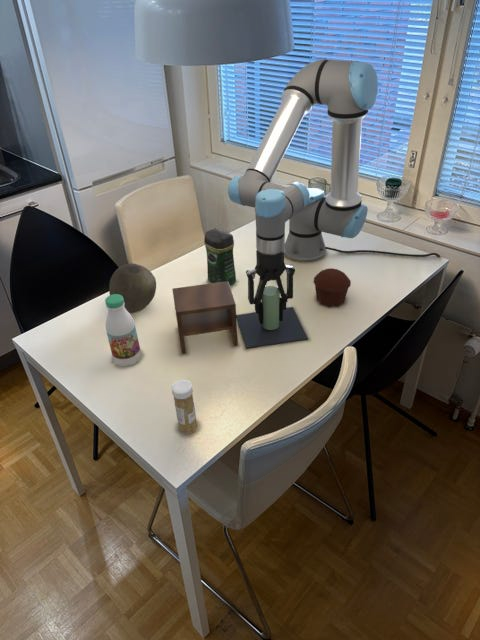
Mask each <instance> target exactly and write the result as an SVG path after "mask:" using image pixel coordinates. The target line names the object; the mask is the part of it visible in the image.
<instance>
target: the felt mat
mask: <svg viewBox="0 0 480 640" xmlns="http://www.w3.org/2000/svg"><path fill="white" fill-rule="evenodd" d="M236 320H237V325H238V328H239V330H240V334H241V337H242V340H243V344H244V346H245V349H246V350H251V349H257V348H263V347H269V346H275V345H282V344H288V343H295V342H301V341H307V340H309V337H308V335H307V334H306V331H305V329H304V327H303V325H302V323H301V321H300V319H299V317H298V314H297V313H296V311H295V308H294V307H293V306H291V307H289V306H288V307H286V310H283V321H279V327H278V328H277V329H275V330H266V329H264V328H263V327H262V324H260V322H259V319H258V314H256V312H255V311H254V312H249V313H247V312H246V313H240V314H236Z"/></svg>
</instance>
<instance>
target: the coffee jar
mask: <svg viewBox="0 0 480 640" xmlns="http://www.w3.org/2000/svg"><path fill="white" fill-rule="evenodd" d="M203 243H204V247H205V251H206V267H207V269H206V270H207V271H206V273H207V281H208V283H209V284H210V283H217V282H225V281H228V282H229V285H230V287H232V286H233V285H234V284H236V282H237V276H236V267H235V266H236V265H235V258H234V246H235V240H234V236H233V234H231V233H230V232H228V231H225V230H223V229H220V228H216V227H214V228H211V229H210V230H206V232H205V234H204V239H203Z"/></svg>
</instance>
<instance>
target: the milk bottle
mask: <svg viewBox="0 0 480 640" xmlns="http://www.w3.org/2000/svg"><path fill="white" fill-rule="evenodd" d="M104 302H105V306H106V309H107V315H106V319H105V331H106V337H107V340H108V344H109V349H110V352H111V356H112V360H113V363H115V364H116V365H118V366H121V367H129V366H132V365H135V364H137V363H138V362H139V361H140V359H141V356H142V352H141V351H142V350H141V347H140V346H141V345H140V342H139V337H138V331H137V327H136V324H135V320H134V318H133V316H132V315H131V313H128V311H127V310H126V309H125V307H124V299H123V297H122V296H121V295H119V294H113V295H110V294H109V295H108V296H107V297H106V298H105V299H104Z"/></svg>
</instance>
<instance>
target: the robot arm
mask: <svg viewBox="0 0 480 640" xmlns="http://www.w3.org/2000/svg"><path fill="white" fill-rule="evenodd" d="M378 90H379V81H378V75H377V71H376V69H375V68H374V66H373V65H372V64H371V63H368V62H363V61H358V60H332V59H324V58H323V59H317V60H314V61H312V62H310V63H307V64H306V65H305V66H303V67H302V68H301V69H300V70H299V71H297V72H296V73H295V74H294V75H293V77H292V78H291V79H290V80H289V81H288V83H287V84H286V86H285V87H284V89H283V91H282V93H281V96H280V100H281V103H280V104H279V107H278V108H277V111H276V113H275V114H274V116H273V118H272V120H271V122H270V124H269V126H268V128H267V130H266V132H265V134H264V135H263V137H262V139H261V142H260V144H259V145H258V147H257V149H256V151H255V153H254V155H253V156H252V159H251V161H250V162H249V165H248V167H247V168H246V171H245V172H244V174H243V175H235V176H234V177H233V178H231V180H230V181H229V184H228V188H227V194H228V197H229V200H231V202H232V203H235V204H237V205H241V206H243V207H249V208H250V207H251V208H254V213H255V248H256V250H255V253H256V254H255V255H256V257H255V258H256V259H255V260H256V263H255V266H254V269H252V270H249V269H247V270H246V271H245V274H246V275H245V276H246V277H247V299H248V302H249V304H250V305H254V312H256V314H258V319H259V322H260V324H263V305H262V302H261V299H262V296H263V292H264V289H265V287H266V286H267V284H268V282H270V281H273V282H274V281H275V283H276V285H277V286H276V287H277V288H279V291H280V321H283V310H286V308H287V303H288V300H292V299H293V298H294V276H295V273H296V269H295V266H294V265H293V264H291V263H290V264H289V265H288V264H286V263H285V256H286V257H287V258H288V259H290V260H292V261H296V262H303V263H307V262H315V261H318V260H321V259H322V258H323V257H324V256H325V255H326V250H329V251H332V252H333V251H334V252H338V253H341V254H355V253H356V254H357V253H371V254H383V255H392V256H401V257H413V258H426V257H430V256H436V257H438V258H440V257H441V255H440V254H439V253H437V252H430V253H426V254H416V253H415V254H412V253H401V252H400V253H399V252H391V251H383V250H370V249H358V250H357V249H356V250H341V249H338V248H335V247H330V246H326V244H325V240H324V237H323V233H325V234H330V235H333V236H337V237H341V238H347V239H355V238H356V237H357V236H358V235H359V234H360V232H361V230H362V229H363V227H364V224H365V222H366V219H367V216H368V211H369V210H368V206H367V205H366V204H364V203H362V202H363V201H362V200H363V197H362V195H361V194H360V193H359V192H358V191H359V190H358V189H359V175H360V174H359V171H360V160H361V158H360V157H361V144H362V130H363V129H362V128H363V127H362V126H363V119H365V117H366V116H367V115H368V114H369V110H371V109H373V107H374V105H375V103H376V101H377V95H378ZM316 105H320V106H321V105H322V106H327V112H326V113H327V116H328V117H329V118H330V119H331V120H332V121H331V122H332V123H331V124H332V127H331V160H330V192H329V193H327V195H326V196H325V191H324V190H323V189H321V188H318V187H317V188H316V187H311V188H310V187H307V186H306V185H305V184H303V183H302V182H299V181H294V182H290V183H289V184H287V185H286V184H285V185H284V184H279V183H275V182H272V179H273V178H274V176H275V174H276V172H277V170H278V168H279V166H280V164H281V162H282V160H283V158H284V157H285V154H286V153H287V150H288V148H289V147H290V145H291V142H292V141H293V138H294V137H295V134H296V133H297V130H298V129H299V127H300V125H301V123H302V121H303V119H304V117H305V115H307V114H309V113H310V112H311V111H312V110H313V107H314V106H316ZM286 222H288V223H289V224H288V226H289V227H288V234H287V237H286V233H285V232H286ZM284 272H285V273H286V292H285V288H284V285H283V282H282V278H281V276H282V275H283V274H284ZM256 275H258V277H259V278H258V279H259V280H258V283H257V288H256V290H255V280H254V279H255V278H256Z"/></svg>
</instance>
